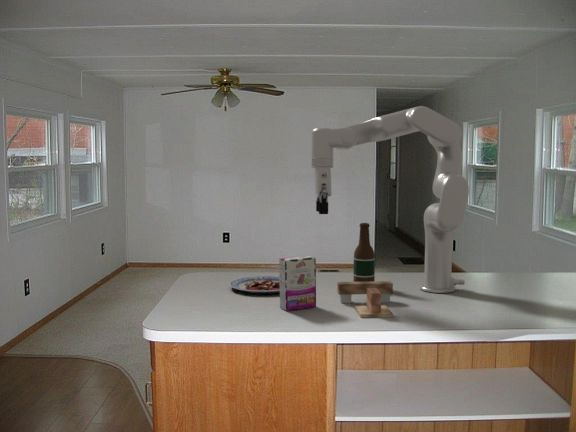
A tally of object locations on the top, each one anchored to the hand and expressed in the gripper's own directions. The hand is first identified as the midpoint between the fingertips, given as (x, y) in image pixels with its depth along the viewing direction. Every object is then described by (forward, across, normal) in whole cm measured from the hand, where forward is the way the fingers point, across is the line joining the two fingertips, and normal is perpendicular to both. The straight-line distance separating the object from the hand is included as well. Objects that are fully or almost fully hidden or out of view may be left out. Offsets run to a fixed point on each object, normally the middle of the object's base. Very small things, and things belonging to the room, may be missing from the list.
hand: (322, 212), depth 204 cm
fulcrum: (+29, -27, -14) cm, 42 cm away
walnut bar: (+26, -13, -13) cm, 32 cm away
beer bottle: (+29, +9, -17) cm, 35 cm away
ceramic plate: (+29, +9, +20) cm, 37 cm away
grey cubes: (+29, -13, -13) cm, 34 cm away
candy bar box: (+29, -20, +10) cm, 36 cm away
